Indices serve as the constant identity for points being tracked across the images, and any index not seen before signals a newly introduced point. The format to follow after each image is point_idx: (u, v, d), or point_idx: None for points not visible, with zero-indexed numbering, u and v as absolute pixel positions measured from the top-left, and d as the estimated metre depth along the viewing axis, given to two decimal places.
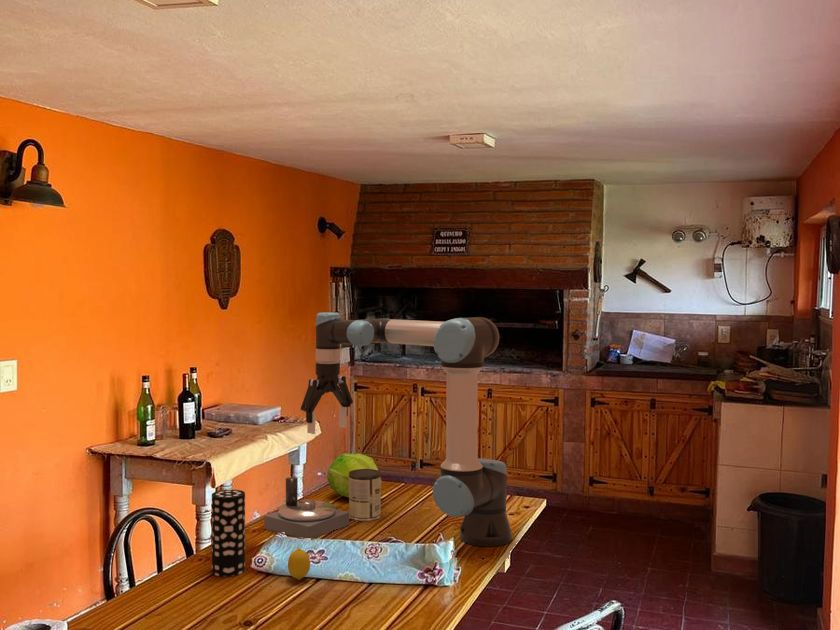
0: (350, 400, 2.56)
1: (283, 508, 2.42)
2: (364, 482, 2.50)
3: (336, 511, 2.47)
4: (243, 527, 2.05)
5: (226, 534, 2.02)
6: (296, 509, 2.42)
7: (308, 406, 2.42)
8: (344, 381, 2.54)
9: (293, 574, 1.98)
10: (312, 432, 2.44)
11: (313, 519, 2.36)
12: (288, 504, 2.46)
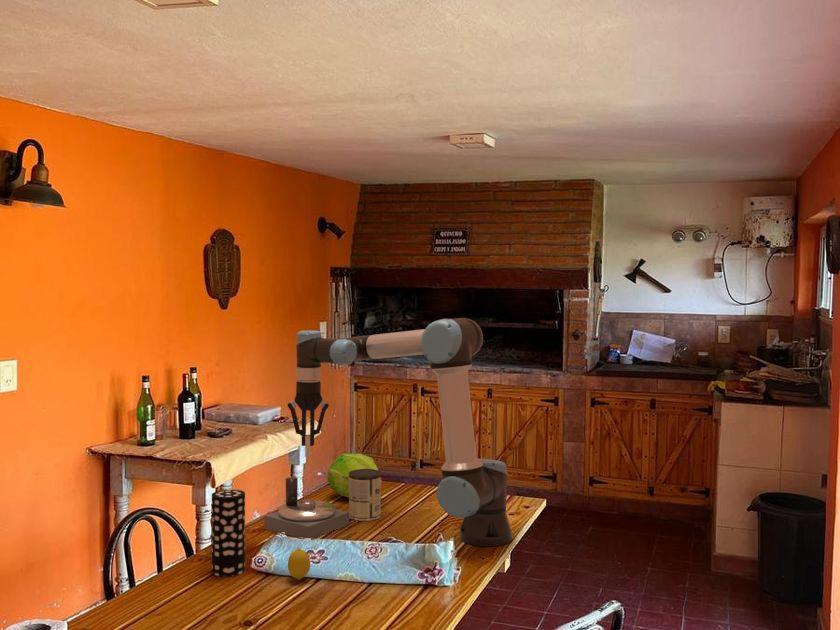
0: (317, 429, 2.48)
1: (283, 508, 2.42)
2: (364, 482, 2.50)
3: (336, 511, 2.47)
4: (243, 527, 2.05)
5: (226, 534, 2.02)
6: (296, 509, 2.42)
7: (296, 429, 2.48)
8: (324, 408, 2.48)
9: (293, 574, 1.98)
10: (305, 455, 2.48)
11: (313, 519, 2.36)
12: (288, 504, 2.46)
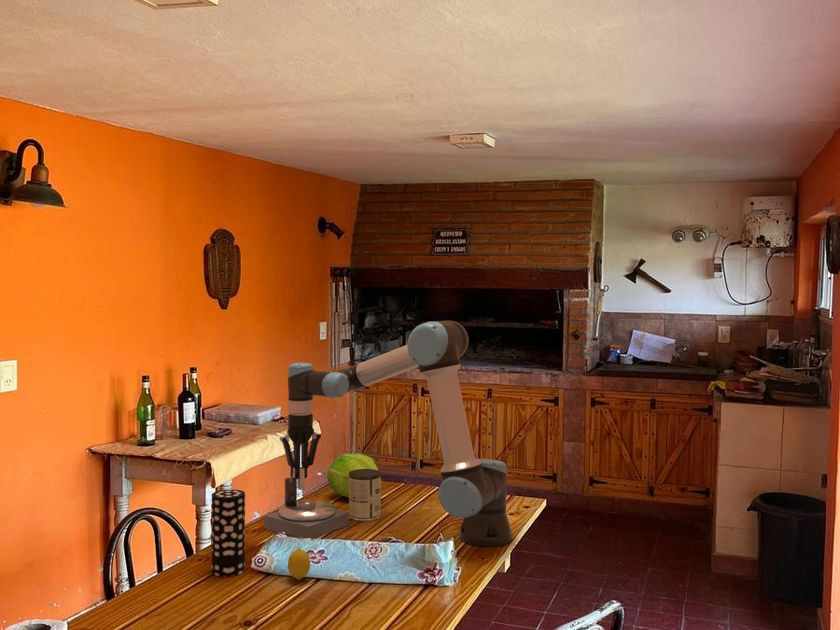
0: (311, 461, 2.49)
1: (283, 509, 2.42)
2: (364, 482, 2.50)
3: (336, 511, 2.47)
4: (243, 527, 2.05)
5: (226, 534, 2.02)
6: (297, 509, 2.42)
7: (292, 463, 2.46)
8: (317, 439, 2.50)
9: (293, 574, 1.98)
10: (299, 488, 2.48)
11: (315, 519, 2.36)
12: (287, 504, 2.45)
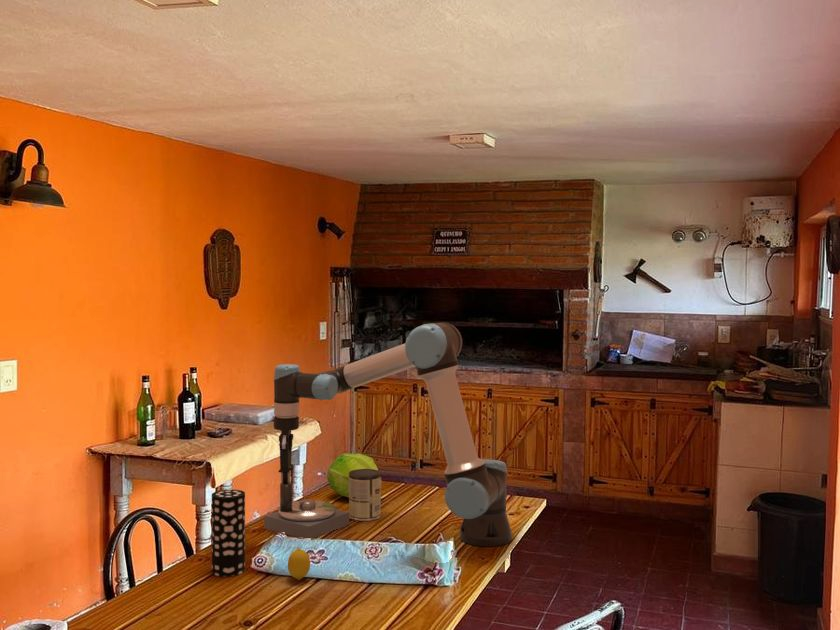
0: None
1: (295, 514, 2.37)
2: (364, 482, 2.50)
3: (336, 511, 2.47)
4: (243, 527, 2.05)
5: (226, 534, 2.02)
6: (304, 511, 2.40)
7: (288, 467, 2.40)
8: None
9: (293, 574, 1.98)
10: None
11: (334, 513, 2.42)
12: (288, 510, 2.39)
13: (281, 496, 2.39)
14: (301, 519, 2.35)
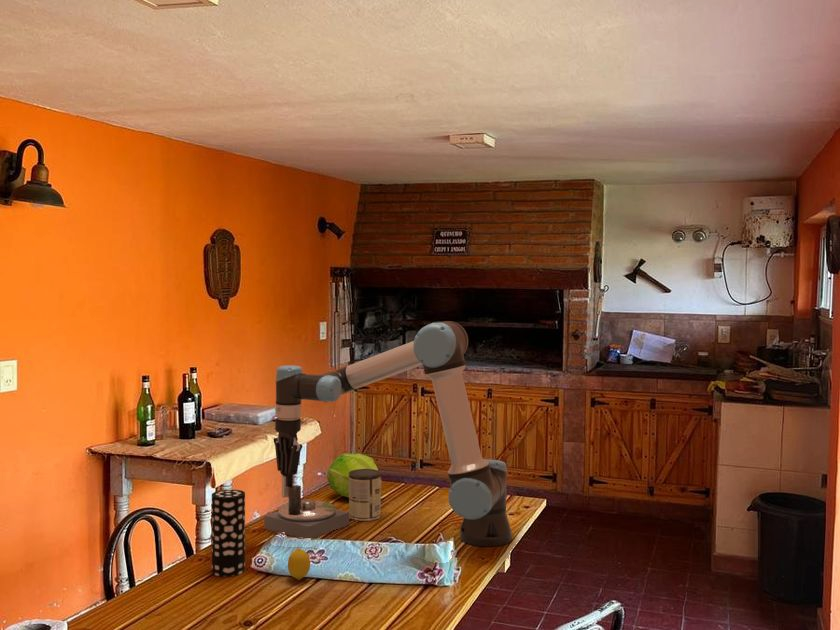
0: None
1: (311, 514, 2.37)
2: (364, 482, 2.50)
3: (336, 511, 2.47)
4: (243, 527, 2.05)
5: (226, 534, 2.02)
6: (311, 510, 2.41)
7: None
8: None
9: (293, 574, 1.98)
10: None
11: None
12: (300, 512, 2.37)
13: (293, 499, 2.36)
14: (320, 518, 2.37)
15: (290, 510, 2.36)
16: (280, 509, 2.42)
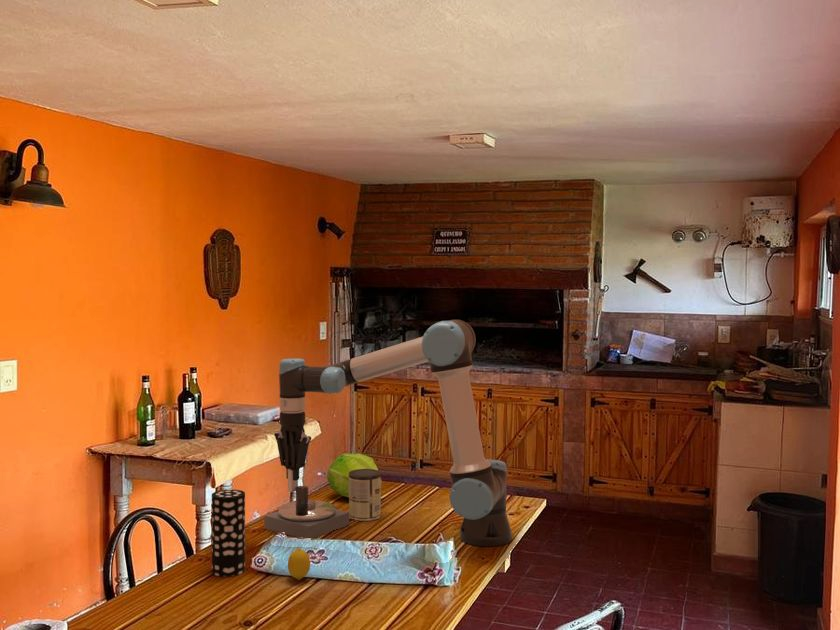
0: None
1: (319, 513, 2.38)
2: (364, 482, 2.50)
3: (336, 511, 2.47)
4: (243, 527, 2.05)
5: (226, 534, 2.02)
6: (314, 509, 2.42)
7: None
8: None
9: (293, 574, 1.98)
10: None
11: None
12: (308, 512, 2.37)
13: (303, 500, 2.35)
14: (328, 515, 2.39)
15: (299, 511, 2.35)
16: (282, 512, 2.39)
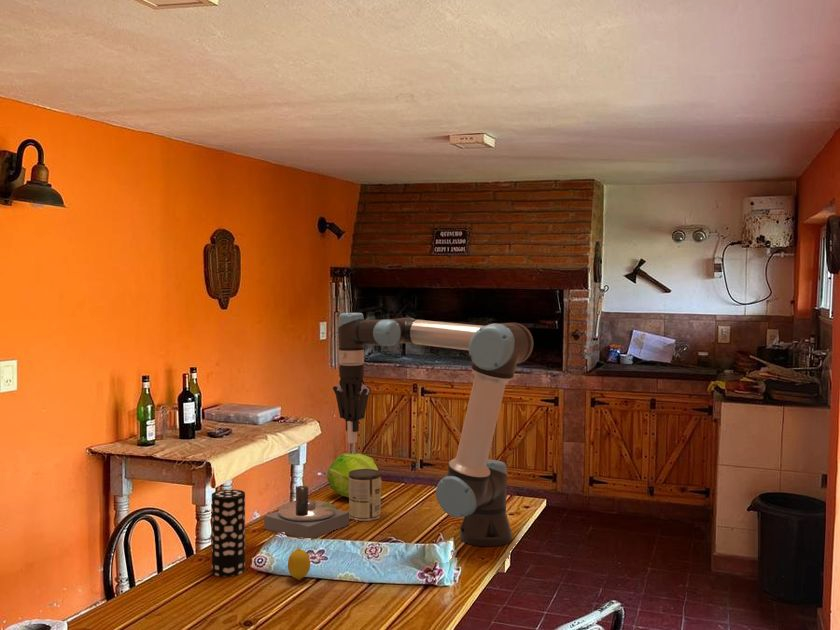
0: None
1: (319, 513, 2.38)
2: (364, 482, 2.50)
3: (336, 511, 2.47)
4: (243, 527, 2.05)
5: (226, 534, 2.02)
6: (314, 509, 2.42)
7: None
8: None
9: (293, 574, 1.98)
10: (356, 440, 2.42)
11: None
12: (308, 512, 2.37)
13: (303, 500, 2.35)
14: (328, 515, 2.39)
15: (299, 511, 2.35)
16: (282, 512, 2.39)
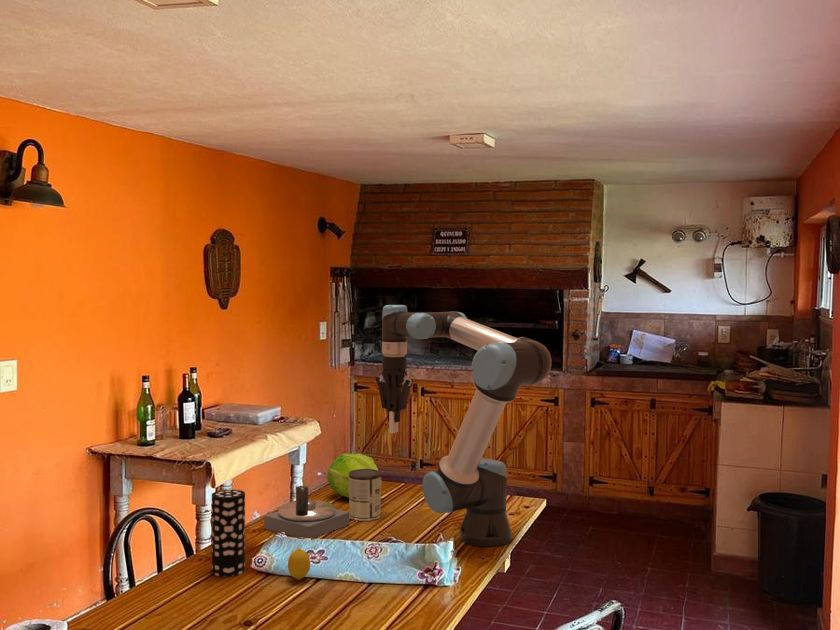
0: None
1: (319, 513, 2.38)
2: (364, 482, 2.50)
3: (336, 511, 2.47)
4: (243, 527, 2.05)
5: (226, 534, 2.02)
6: (314, 509, 2.42)
7: None
8: None
9: (293, 574, 1.98)
10: (397, 430, 2.47)
11: None
12: (308, 512, 2.37)
13: (303, 500, 2.35)
14: (328, 515, 2.39)
15: (299, 511, 2.35)
16: (282, 512, 2.39)
